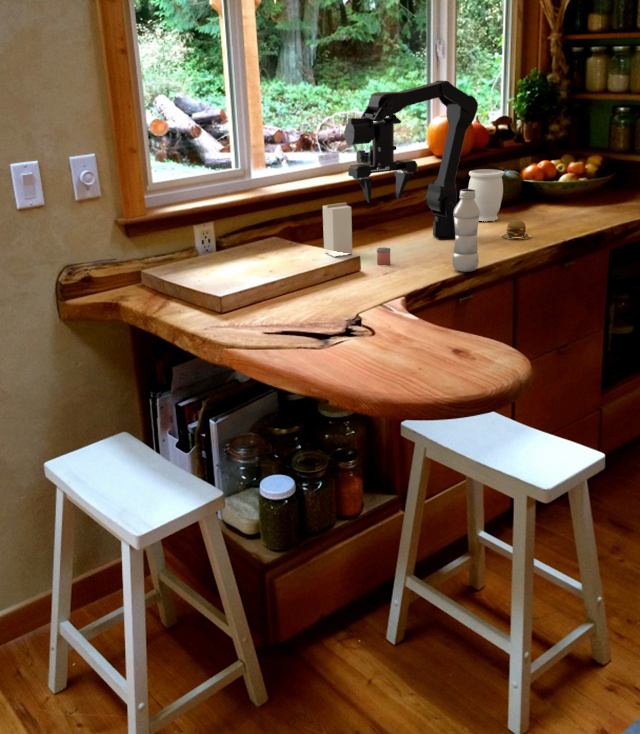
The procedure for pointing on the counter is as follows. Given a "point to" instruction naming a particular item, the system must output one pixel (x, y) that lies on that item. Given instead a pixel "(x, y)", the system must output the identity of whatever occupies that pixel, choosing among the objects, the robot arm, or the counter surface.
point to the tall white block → (337, 227)
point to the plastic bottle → (466, 232)
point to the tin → (383, 256)
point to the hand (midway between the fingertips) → (383, 200)
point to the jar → (487, 192)
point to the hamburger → (516, 228)
